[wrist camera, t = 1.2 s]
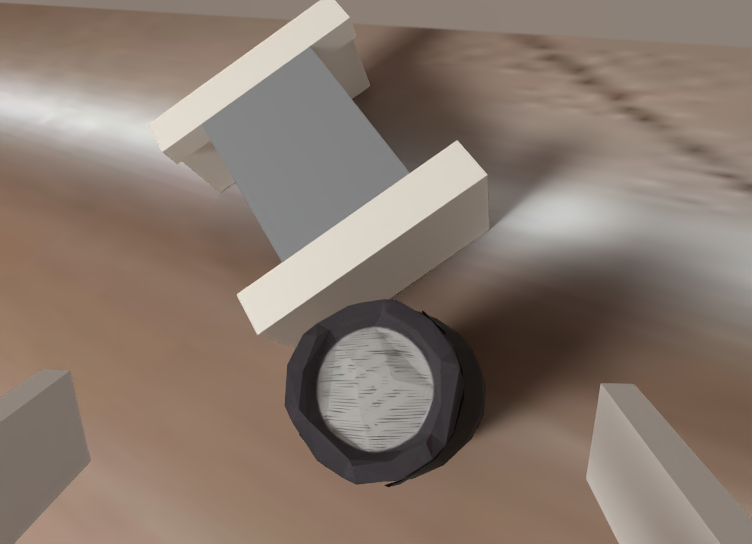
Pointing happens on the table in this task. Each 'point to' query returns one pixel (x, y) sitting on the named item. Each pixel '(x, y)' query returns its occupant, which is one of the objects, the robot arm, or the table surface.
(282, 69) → the square spool
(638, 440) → the robot arm
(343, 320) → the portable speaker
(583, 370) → the table surface
